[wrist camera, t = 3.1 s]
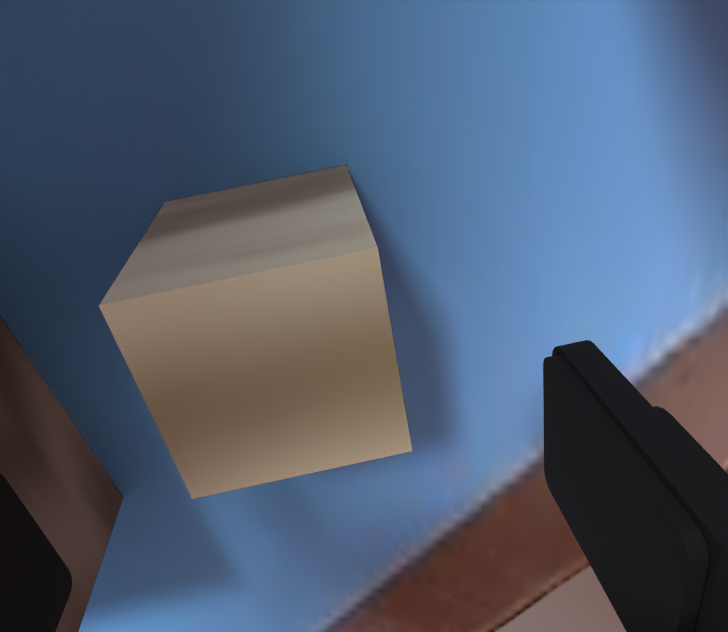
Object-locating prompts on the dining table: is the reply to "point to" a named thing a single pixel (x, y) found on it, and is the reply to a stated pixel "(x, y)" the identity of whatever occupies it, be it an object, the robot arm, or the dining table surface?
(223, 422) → the maple block
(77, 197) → the dining table surface
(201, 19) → the dining table surface
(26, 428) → the walnut block
